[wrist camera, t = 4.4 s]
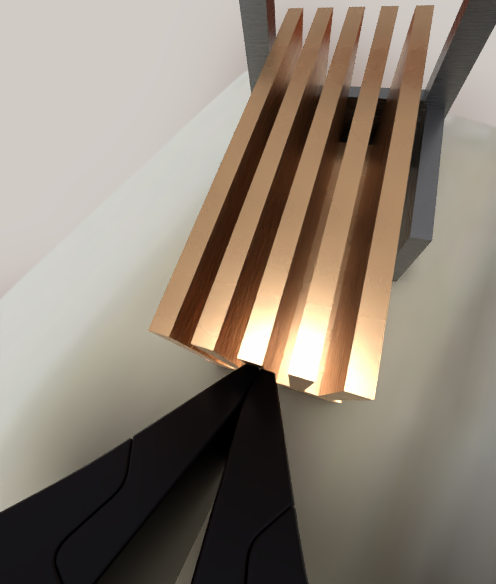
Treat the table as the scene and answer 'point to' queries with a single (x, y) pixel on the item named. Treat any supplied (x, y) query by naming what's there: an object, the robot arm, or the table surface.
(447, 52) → the grey open frame
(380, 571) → the table surface
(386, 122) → the heat-sink block
